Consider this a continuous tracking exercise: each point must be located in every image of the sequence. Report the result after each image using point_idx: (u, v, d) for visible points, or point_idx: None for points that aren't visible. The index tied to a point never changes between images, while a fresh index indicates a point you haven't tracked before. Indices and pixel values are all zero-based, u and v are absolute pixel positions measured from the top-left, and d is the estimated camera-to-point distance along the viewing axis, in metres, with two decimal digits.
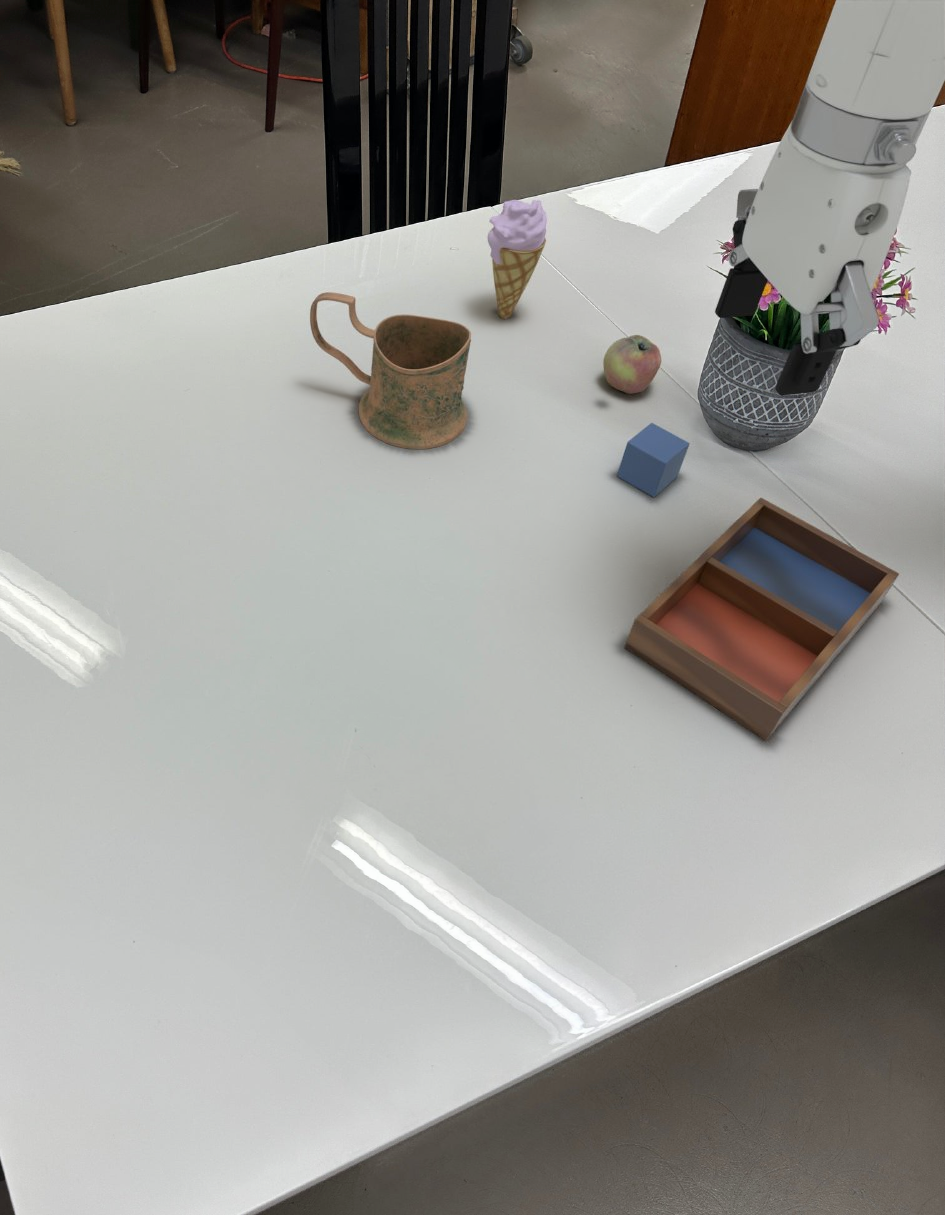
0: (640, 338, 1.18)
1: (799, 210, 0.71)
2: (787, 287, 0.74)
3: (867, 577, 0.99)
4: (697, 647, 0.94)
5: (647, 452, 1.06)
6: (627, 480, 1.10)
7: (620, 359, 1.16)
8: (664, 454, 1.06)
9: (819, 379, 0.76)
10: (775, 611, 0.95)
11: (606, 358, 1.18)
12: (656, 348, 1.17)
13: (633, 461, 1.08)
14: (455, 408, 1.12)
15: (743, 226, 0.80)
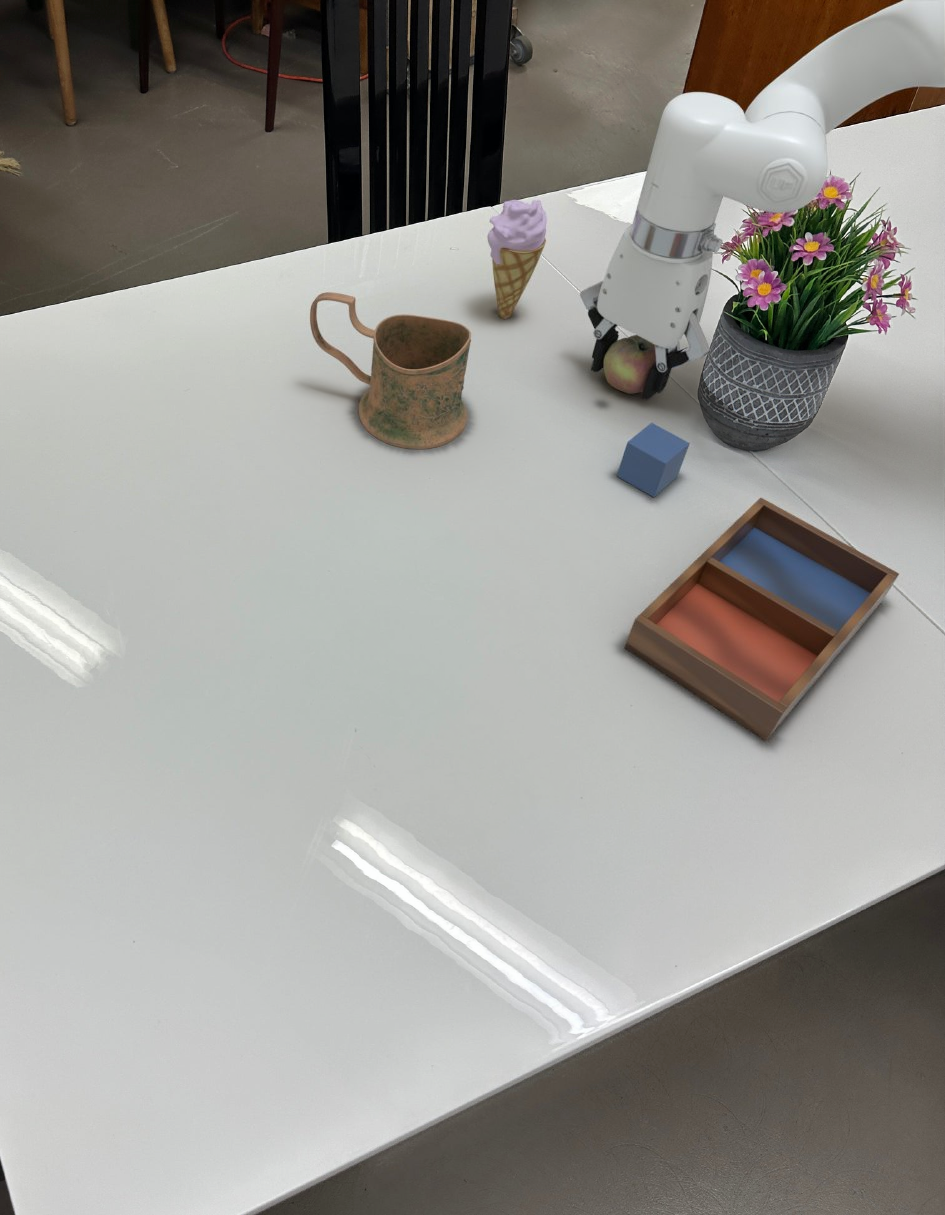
0: (640, 338, 1.18)
1: (652, 289, 1.09)
2: (652, 335, 1.12)
3: (867, 577, 0.99)
4: (697, 647, 0.94)
5: (647, 452, 1.06)
6: (627, 480, 1.10)
7: (621, 359, 1.16)
8: (664, 454, 1.06)
9: (666, 382, 1.17)
10: (775, 611, 0.95)
11: (606, 358, 1.18)
12: None
13: (633, 461, 1.08)
14: (455, 408, 1.12)
15: (597, 312, 1.17)
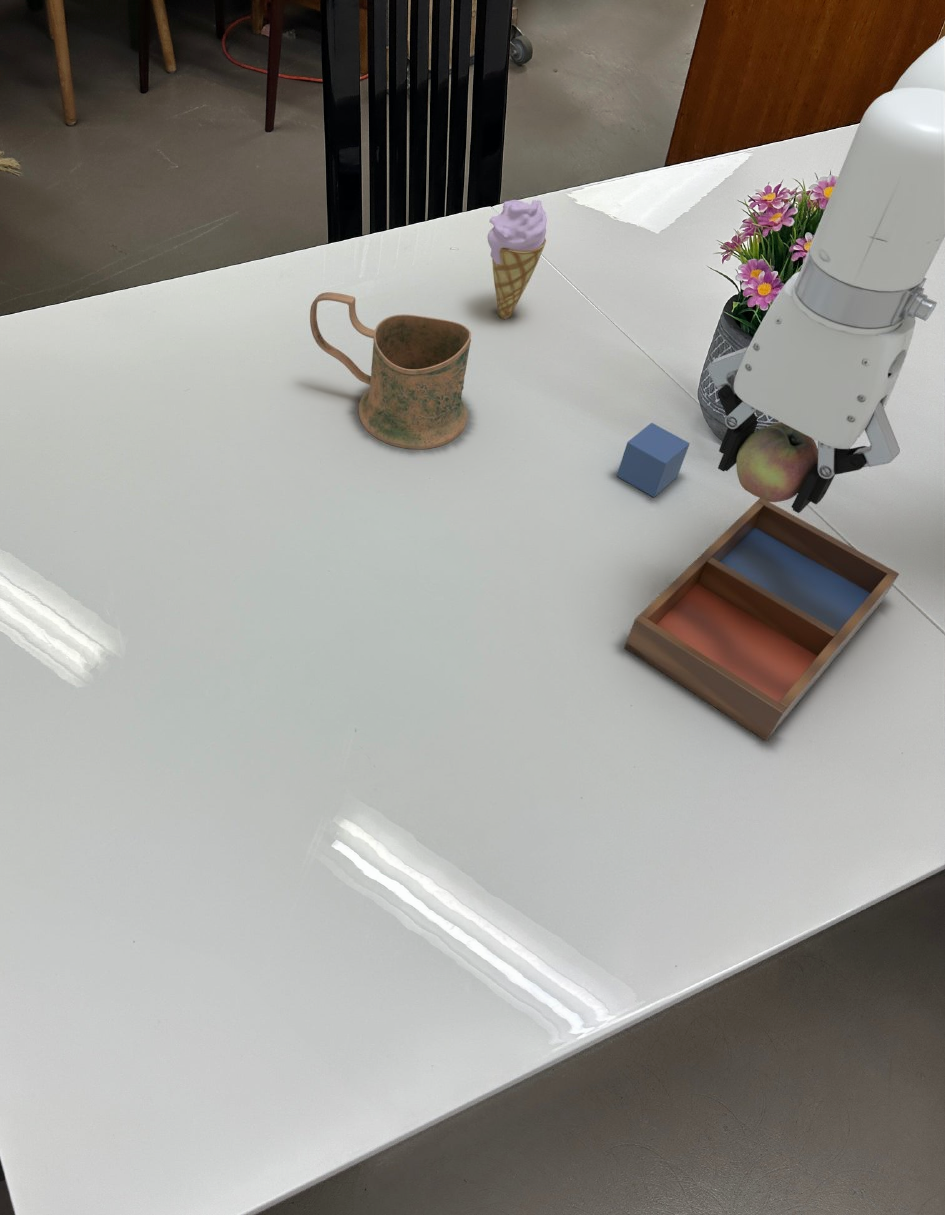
0: (790, 428, 0.86)
1: (823, 369, 0.76)
2: (817, 430, 0.80)
3: (867, 577, 0.99)
4: (697, 647, 0.94)
5: (647, 452, 1.06)
6: (627, 480, 1.10)
7: (765, 459, 0.84)
8: (664, 454, 1.06)
9: (827, 489, 0.85)
10: (775, 611, 0.95)
11: (742, 455, 0.86)
12: (813, 442, 0.85)
13: (633, 461, 1.08)
14: (455, 408, 1.12)
15: (731, 392, 0.85)
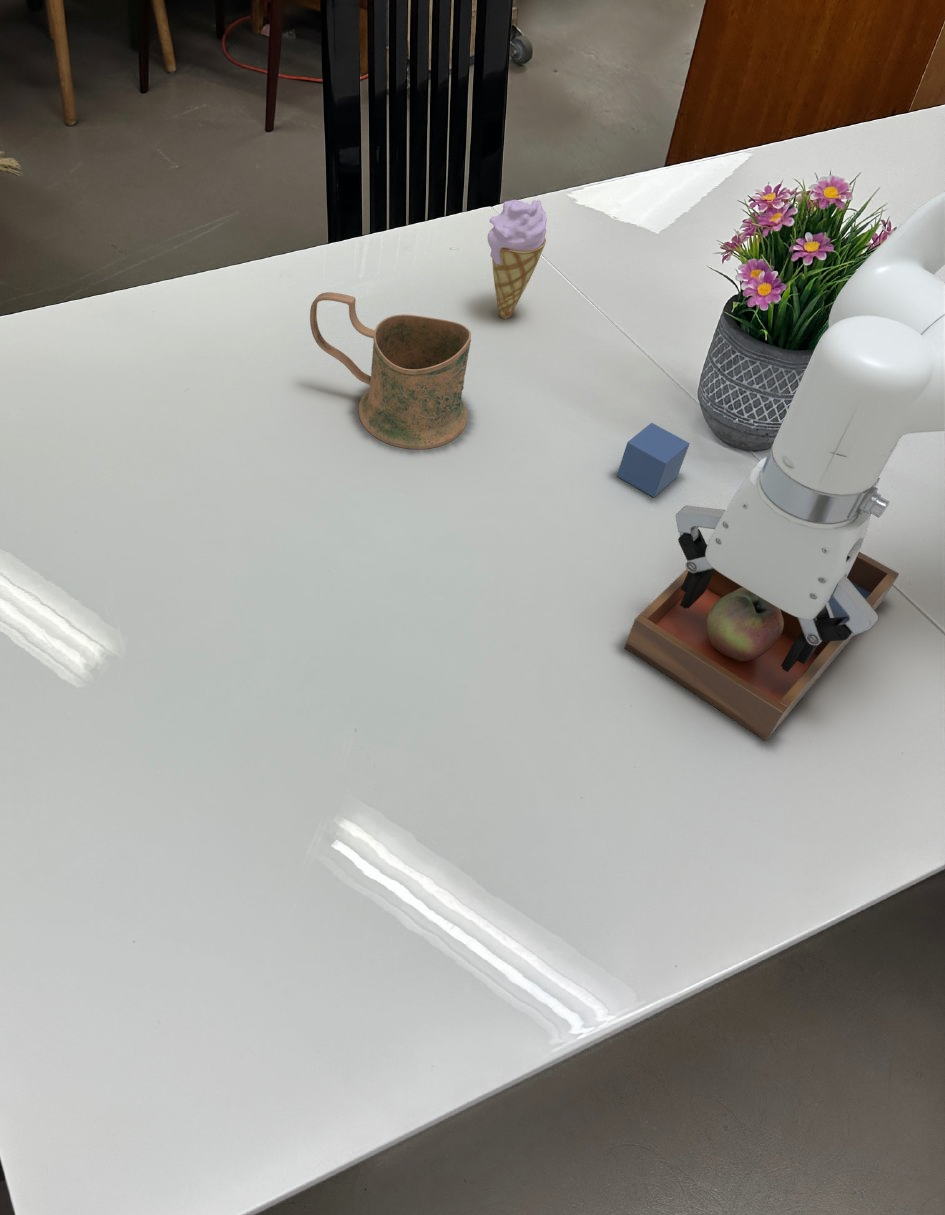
0: (755, 594, 0.92)
1: (787, 552, 0.82)
2: (782, 602, 0.85)
3: (867, 577, 0.99)
4: (697, 647, 0.94)
5: (647, 452, 1.06)
6: (627, 480, 1.10)
7: (732, 626, 0.90)
8: (664, 454, 1.06)
9: (814, 650, 0.89)
10: None
11: (712, 619, 0.92)
12: (777, 609, 0.91)
13: (633, 461, 1.08)
14: (455, 408, 1.12)
15: (691, 540, 0.90)
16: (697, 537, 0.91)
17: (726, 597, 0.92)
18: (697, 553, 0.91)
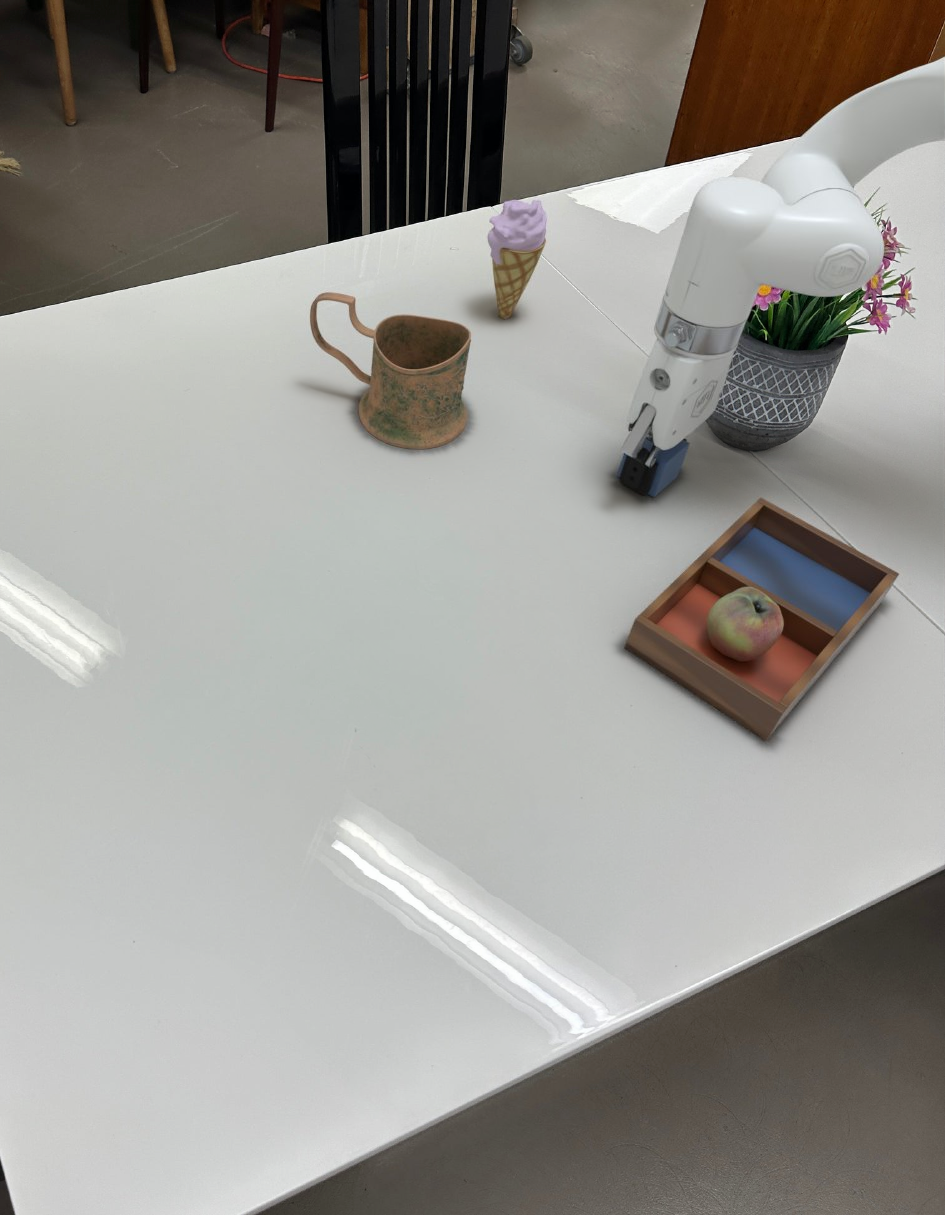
0: (756, 594, 0.92)
1: None
2: None
3: (867, 577, 0.99)
4: (697, 647, 0.94)
5: None
6: None
7: (732, 626, 0.90)
8: (664, 454, 1.06)
9: (638, 483, 1.07)
10: None
11: (712, 619, 0.92)
12: (777, 609, 0.91)
13: None
14: (455, 408, 1.12)
15: None
16: None
17: (726, 597, 0.92)
18: None
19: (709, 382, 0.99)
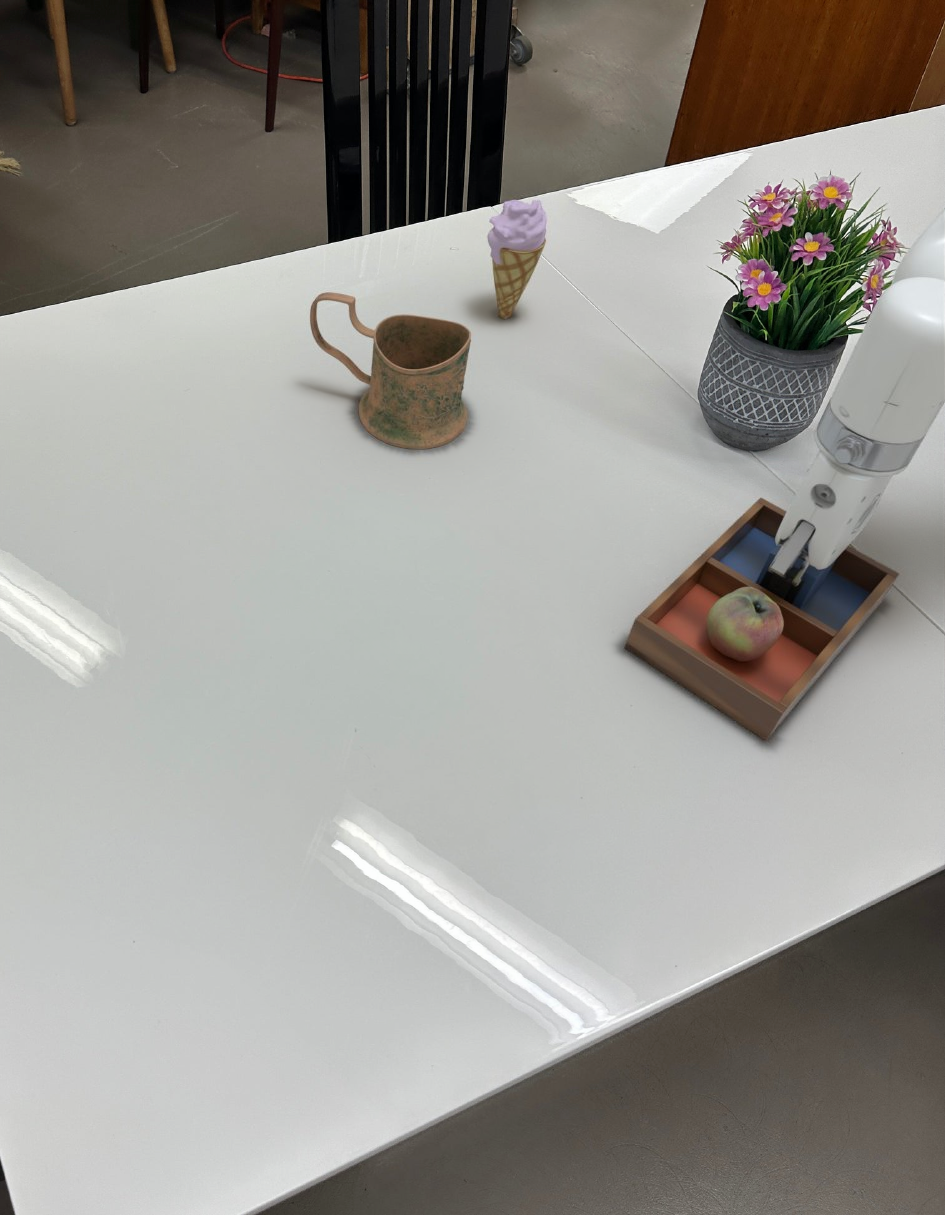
0: (755, 594, 0.92)
1: None
2: None
3: (867, 577, 0.99)
4: (697, 647, 0.94)
5: (794, 564, 0.95)
6: None
7: (732, 626, 0.90)
8: (812, 566, 0.95)
9: None
10: None
11: (712, 619, 0.92)
12: (777, 609, 0.91)
13: None
14: (455, 408, 1.12)
15: None
16: None
17: (726, 597, 0.92)
18: None
19: (875, 497, 0.89)
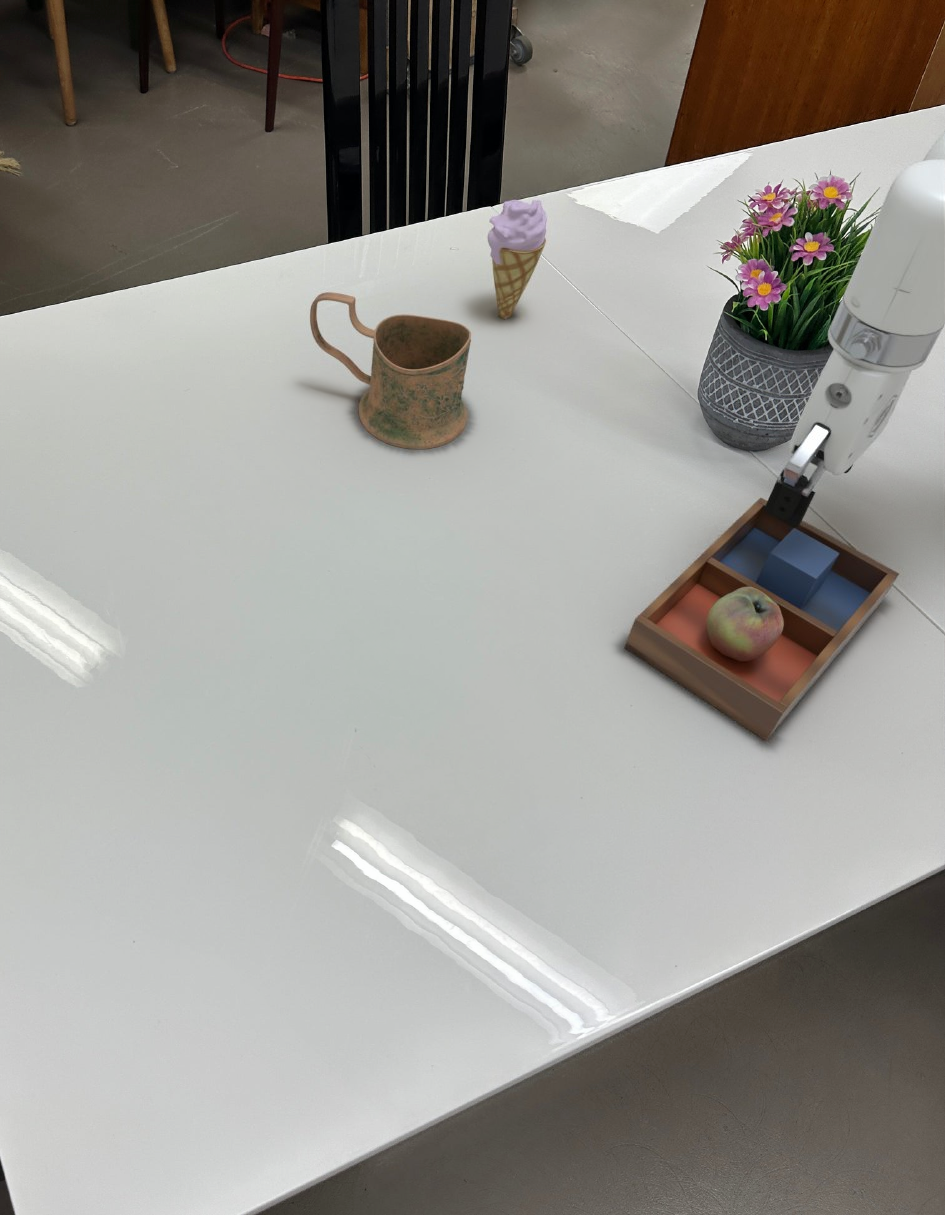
0: (755, 594, 0.92)
1: None
2: None
3: (867, 577, 0.99)
4: (697, 647, 0.94)
5: (794, 564, 0.95)
6: None
7: (732, 626, 0.90)
8: (812, 566, 0.95)
9: (789, 514, 0.92)
10: None
11: (712, 619, 0.92)
12: (777, 609, 0.91)
13: (776, 573, 0.97)
14: (455, 408, 1.12)
15: None
16: None
17: (726, 597, 0.92)
18: None
19: (891, 397, 0.86)
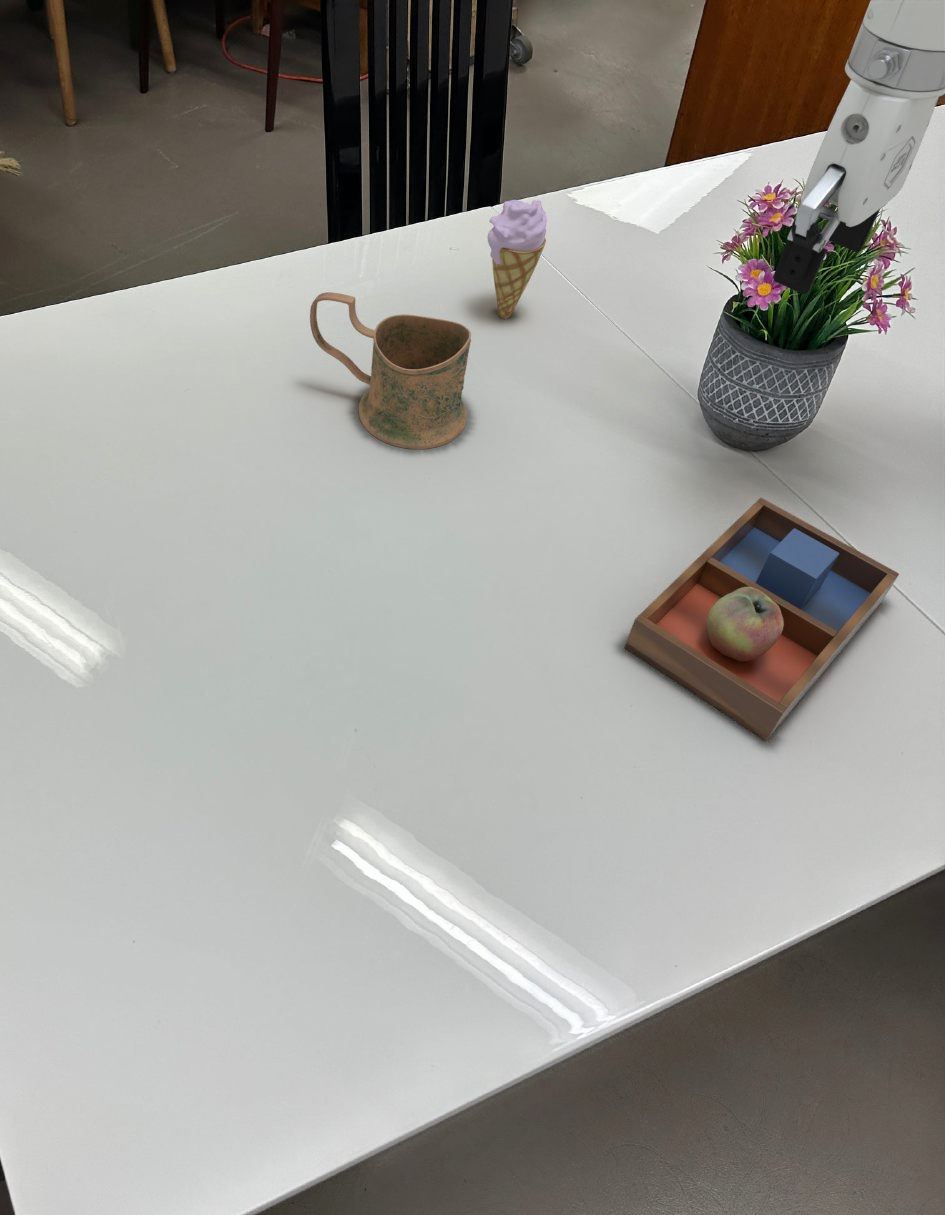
0: (755, 594, 0.92)
1: None
2: None
3: (867, 577, 0.99)
4: (697, 647, 0.94)
5: (794, 564, 0.95)
6: None
7: (732, 626, 0.90)
8: (812, 566, 0.95)
9: (800, 276, 0.88)
10: None
11: (712, 619, 0.92)
12: (777, 609, 0.91)
13: (776, 573, 0.97)
14: (455, 408, 1.12)
15: None
16: None
17: (726, 597, 0.92)
18: None
19: (910, 137, 0.82)
